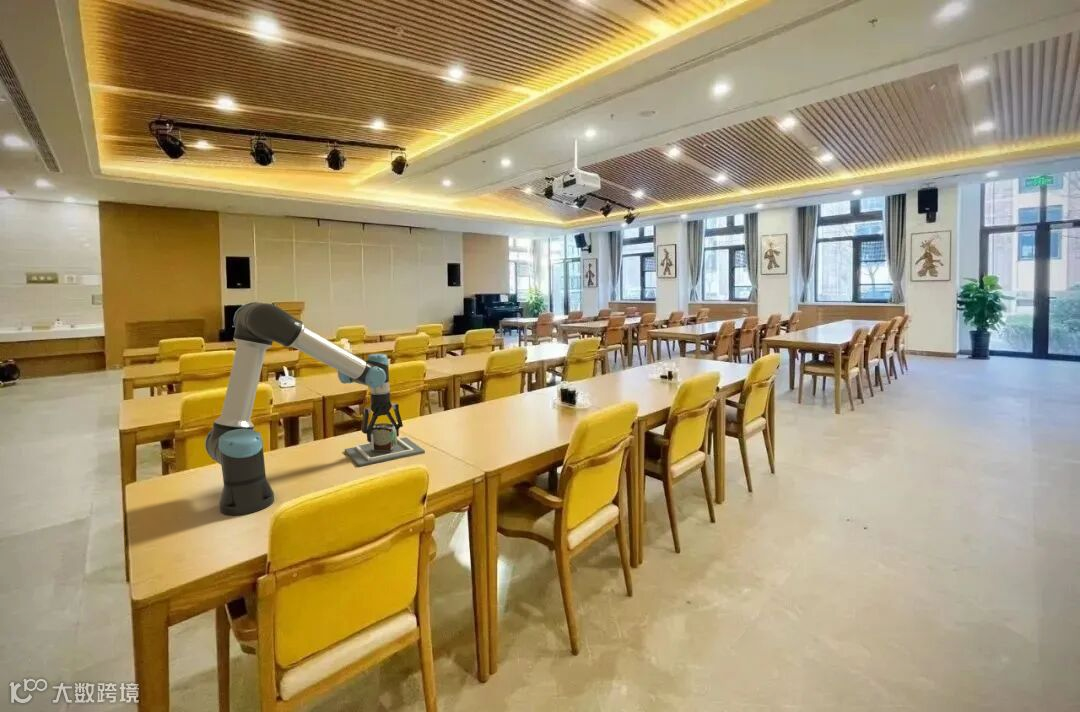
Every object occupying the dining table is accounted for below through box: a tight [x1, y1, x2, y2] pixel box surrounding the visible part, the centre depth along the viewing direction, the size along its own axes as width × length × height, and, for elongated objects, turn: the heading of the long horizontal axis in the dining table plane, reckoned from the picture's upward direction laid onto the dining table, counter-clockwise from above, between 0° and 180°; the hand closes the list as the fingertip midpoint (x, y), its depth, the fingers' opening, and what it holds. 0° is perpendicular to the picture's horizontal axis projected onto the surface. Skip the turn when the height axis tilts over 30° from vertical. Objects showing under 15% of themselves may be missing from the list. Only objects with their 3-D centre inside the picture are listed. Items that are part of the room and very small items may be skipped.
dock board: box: [344, 436, 426, 468], centre depth 214 cm, size 26×22×2 cm
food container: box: [367, 422, 396, 452], centre depth 213 cm, size 12×6×10 cm, turn 74°
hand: (383, 446), depth 213 cm, fingers closed on food container, 9 cm apart
